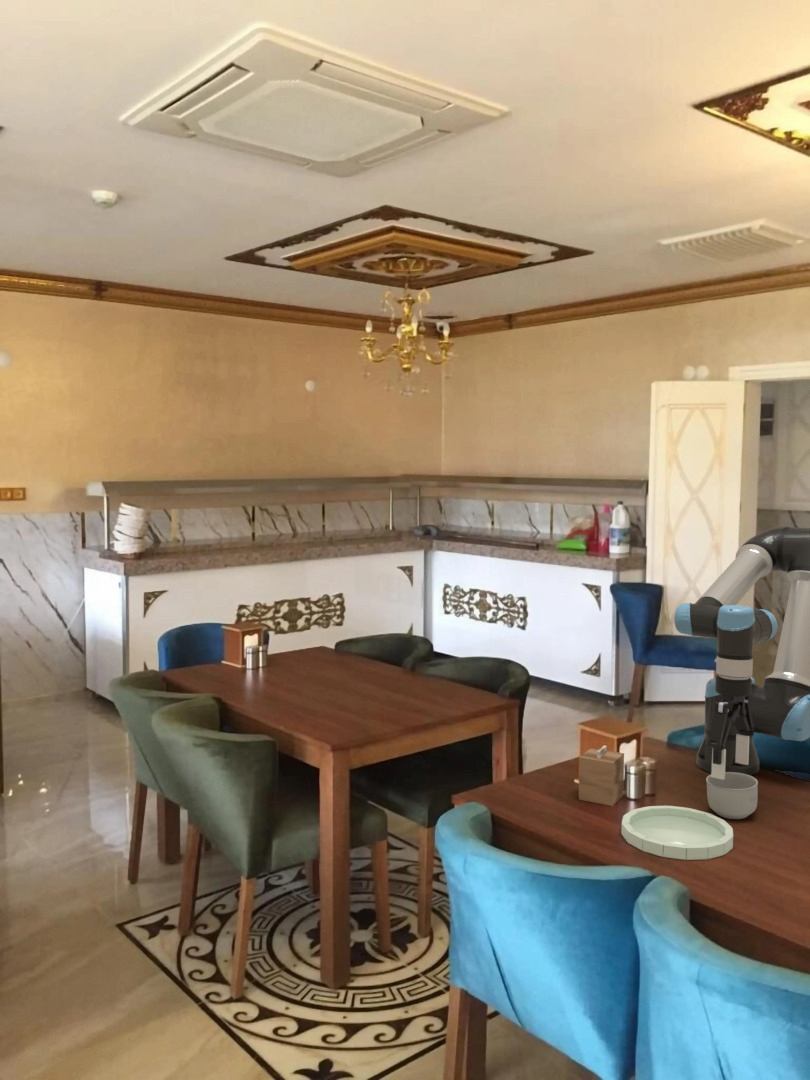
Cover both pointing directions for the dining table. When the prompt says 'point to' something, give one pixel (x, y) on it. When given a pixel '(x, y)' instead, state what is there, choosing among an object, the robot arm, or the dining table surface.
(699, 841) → the tray
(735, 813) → the teacup
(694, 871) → the dining table surface
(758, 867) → the dining table surface
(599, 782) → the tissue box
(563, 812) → the dining table surface
